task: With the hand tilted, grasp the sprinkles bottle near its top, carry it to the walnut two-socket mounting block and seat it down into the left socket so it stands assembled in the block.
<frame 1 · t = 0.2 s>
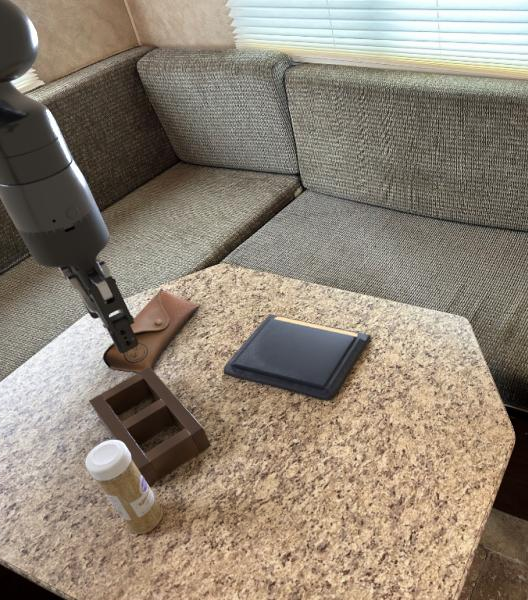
hand: (114, 330, 70), 23 cm above the table, tool pointing down, fingers open, 8 cm apart
sunglasses case: (158, 336, 106), on the table
wallet: (298, 356, 99), on the table
socket block: (153, 431, 89), on the table
sprinkles bottle: (146, 519, 78), on the table
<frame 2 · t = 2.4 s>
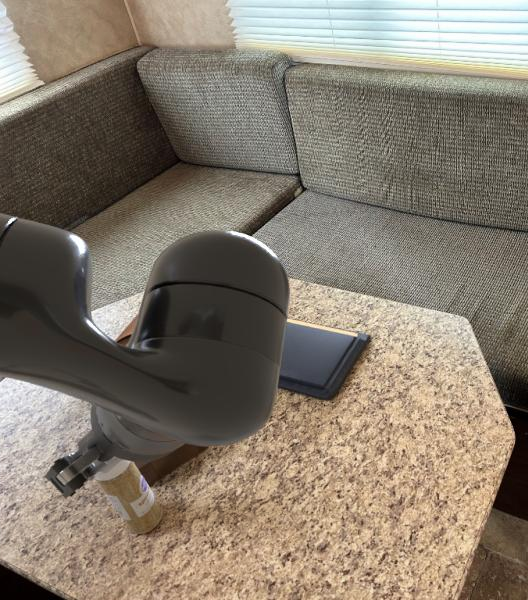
hand: (123, 436, 56), 25 cm above the table, tool tilted 45°, fingers open, 8 cm apart
nothing on the table moved.
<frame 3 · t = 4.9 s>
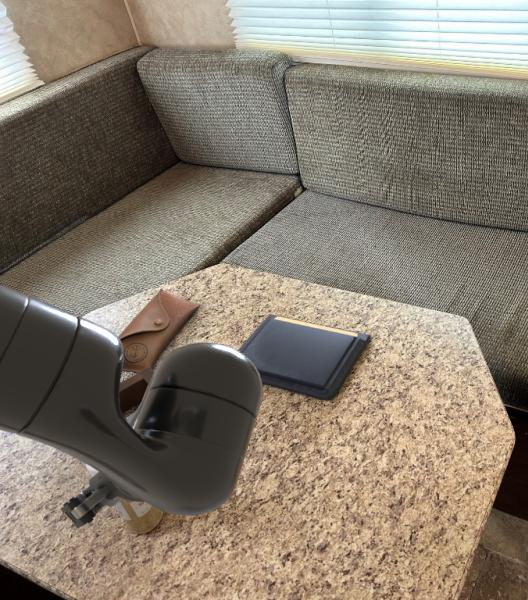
hand: (127, 470, 65), 15 cm above the table, tool tilted 45°, fingers open, 8 cm apart
nothing on the table moved.
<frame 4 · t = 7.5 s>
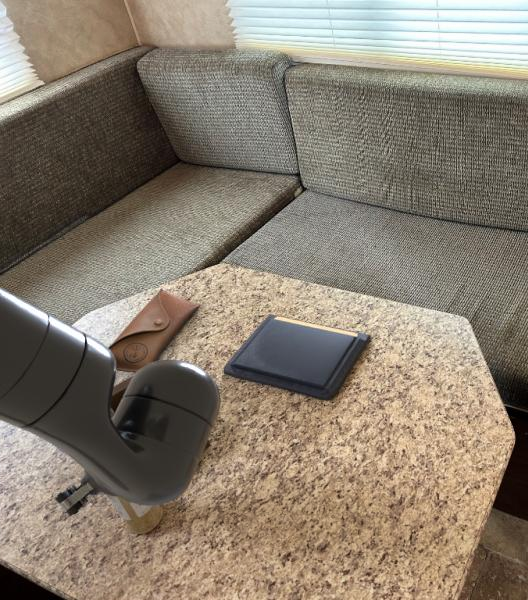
hand: (110, 469, 73), 9 cm above the table, tool tilted 45°, fingers closed on sprinkles bottle, 4 cm apart
sprinkles bottle: (146, 519, 78), on the table, touching gripper
everything else where it was.
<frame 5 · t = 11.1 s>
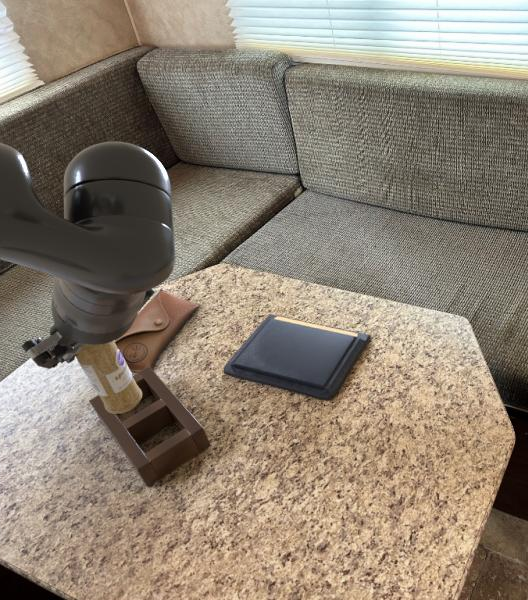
hand: (85, 341, 70), 23 cm above the table, tool tilted 45°, fingers closed on sprinkles bottle, 4 cm apart
sprinkles bottle: (124, 402, 75), point 14 cm above the table, touching gripper
everything else where it was.
when the fingers open (9 cm above the table, at t = 15.2 s): sprinkles bottle stays where it is, resting in socket block.
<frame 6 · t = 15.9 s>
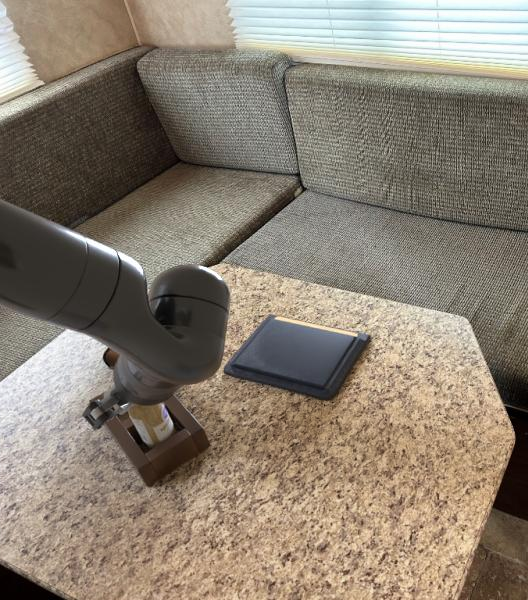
hand: (133, 393, 81), 10 cm above the table, tool tilted 45°, fingers open, 8 cm apart
sprinkles bottle: (166, 447, 87), resting in socket block
everything else where it was.
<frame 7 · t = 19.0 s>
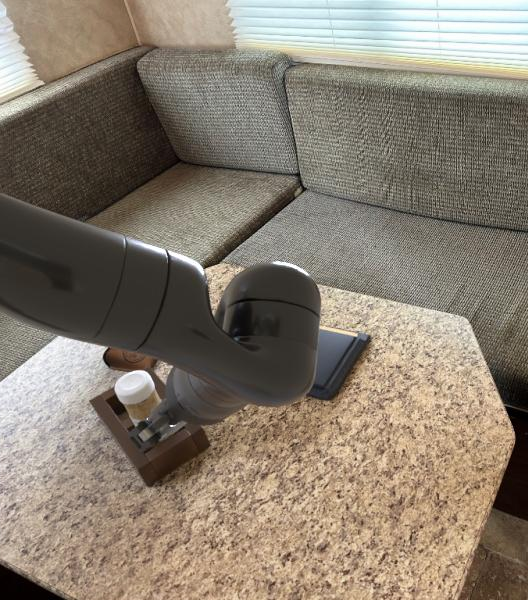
hand: (179, 408, 71), 15 cm above the table, tool tilted 45°, fingers open, 8 cm apart
nothing on the table moved.
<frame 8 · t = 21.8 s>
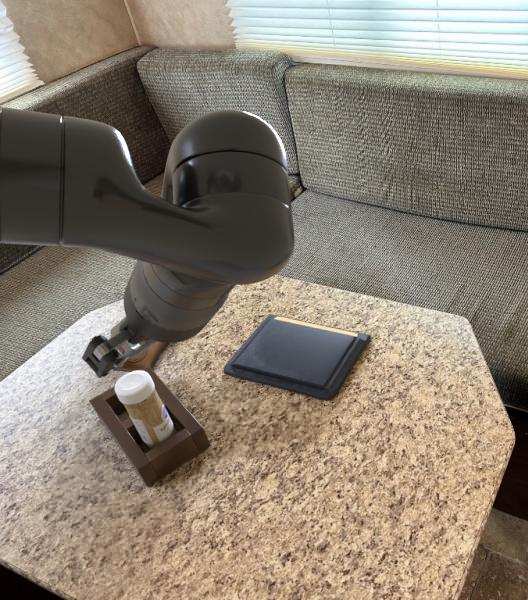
hand: (147, 337, 64), 27 cm above the table, tool tilted 45°, fingers open, 8 cm apart
nothing on the table moved.
at the end: sprinkles bottle 0.2 cm from the target spot in the socket block, point 0.0 cm above the socket block's base; sprinkles bottle tilted 0°; the gripper is holding nothing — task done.
